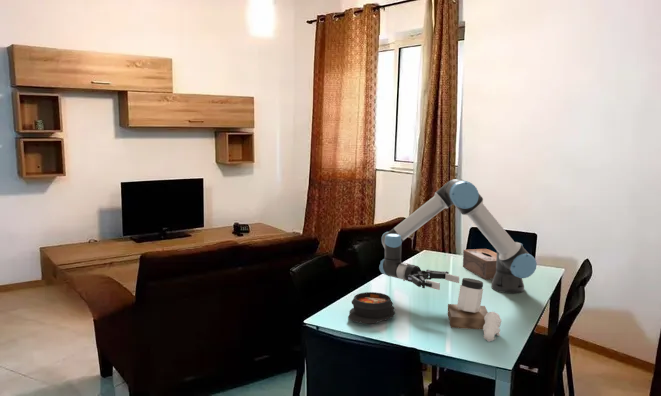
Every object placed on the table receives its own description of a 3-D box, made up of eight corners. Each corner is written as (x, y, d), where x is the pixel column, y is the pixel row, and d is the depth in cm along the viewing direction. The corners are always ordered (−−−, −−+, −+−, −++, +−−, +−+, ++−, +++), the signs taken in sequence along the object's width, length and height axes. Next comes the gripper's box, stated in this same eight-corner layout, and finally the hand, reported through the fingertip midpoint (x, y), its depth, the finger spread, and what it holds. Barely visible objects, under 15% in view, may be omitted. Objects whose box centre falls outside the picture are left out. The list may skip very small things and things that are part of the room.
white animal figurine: (502, 311, 193) (498, 324, 182) (501, 331, 195) (497, 346, 184) (485, 308, 196) (480, 322, 185) (484, 329, 198) (479, 343, 187)
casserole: (365, 304, 226) (365, 286, 225) (404, 312, 216) (405, 293, 215) (337, 322, 204) (337, 302, 203) (379, 332, 195) (379, 310, 194)
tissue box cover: (462, 267, 290) (463, 249, 288) (486, 265, 293) (486, 248, 291) (485, 280, 265) (486, 261, 263) (510, 278, 268) (511, 260, 266)
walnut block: (484, 317, 212) (484, 305, 212) (490, 331, 198) (491, 319, 197) (447, 315, 214) (447, 303, 214) (450, 329, 199) (451, 316, 199)
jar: (473, 313, 199) (478, 283, 198) (454, 308, 204) (458, 278, 203) (482, 311, 206) (486, 282, 205) (463, 305, 211) (467, 277, 210)
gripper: (426, 275, 235) (466, 285, 220) (390, 286, 219) (430, 298, 203) (426, 259, 234) (466, 268, 219) (390, 269, 218) (430, 280, 202)
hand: (449, 283), depth 211 cm, fingers open, 13 cm apart
